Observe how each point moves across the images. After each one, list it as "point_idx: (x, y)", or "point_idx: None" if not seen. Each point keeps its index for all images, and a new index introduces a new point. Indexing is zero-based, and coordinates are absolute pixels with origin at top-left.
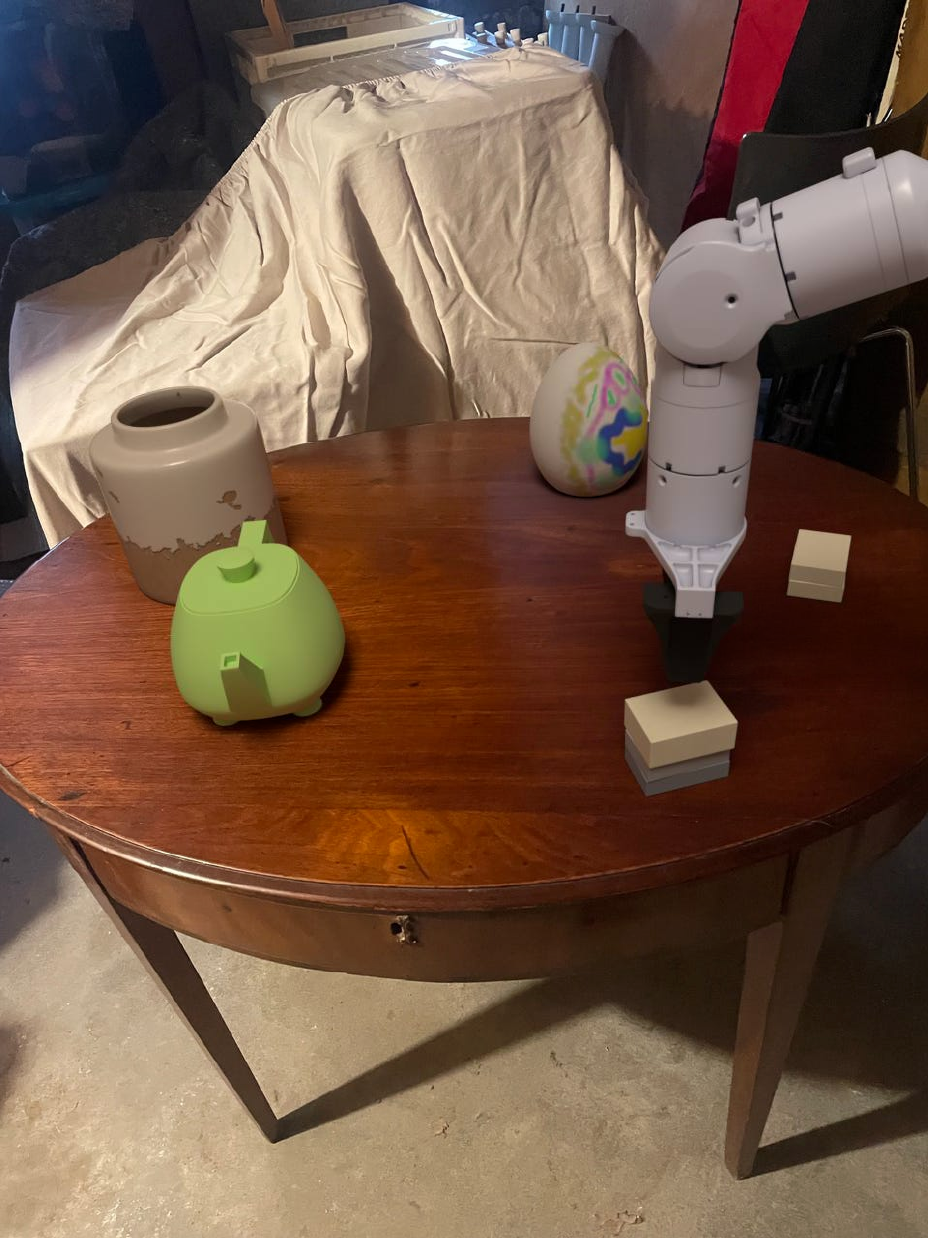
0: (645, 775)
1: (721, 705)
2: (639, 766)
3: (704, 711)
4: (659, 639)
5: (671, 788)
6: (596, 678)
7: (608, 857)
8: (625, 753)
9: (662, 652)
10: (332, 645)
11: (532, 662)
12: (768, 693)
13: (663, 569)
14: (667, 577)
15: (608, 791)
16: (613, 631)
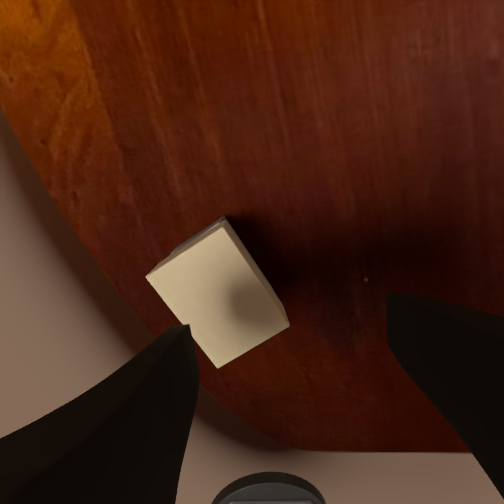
0: (174, 251)
1: (242, 348)
2: (187, 242)
3: (225, 330)
4: (86, 391)
5: None
6: (354, 154)
7: (87, 225)
8: (221, 218)
9: (129, 361)
10: None
11: (376, 53)
12: (355, 340)
13: (458, 323)
14: (438, 323)
15: (172, 208)
16: (452, 156)
